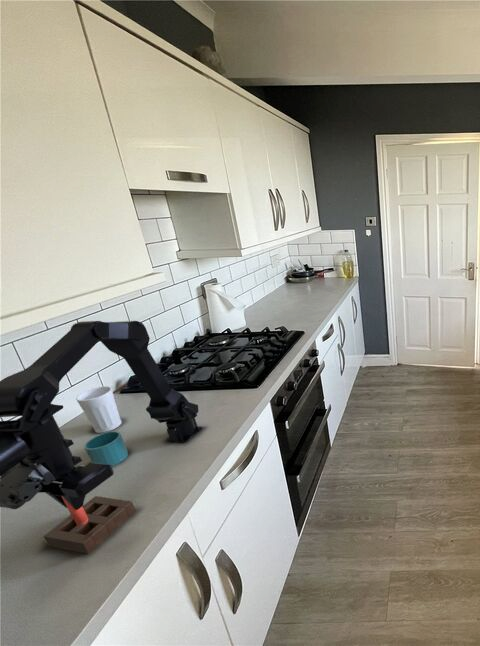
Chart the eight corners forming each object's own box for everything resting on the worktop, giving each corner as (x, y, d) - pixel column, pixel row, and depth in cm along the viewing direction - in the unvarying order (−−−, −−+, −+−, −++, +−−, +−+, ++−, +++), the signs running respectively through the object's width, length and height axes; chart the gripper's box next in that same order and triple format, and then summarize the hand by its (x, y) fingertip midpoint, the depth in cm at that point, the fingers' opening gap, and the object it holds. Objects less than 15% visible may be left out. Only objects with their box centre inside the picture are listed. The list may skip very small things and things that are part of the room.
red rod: (85, 519, 72) (65, 482, 68) (92, 520, 72) (73, 483, 68) (75, 527, 70) (54, 489, 67) (82, 528, 70) (62, 490, 66)
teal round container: (114, 448, 98) (105, 430, 96) (135, 451, 97) (127, 432, 95) (86, 467, 92) (76, 447, 89) (108, 470, 91) (99, 450, 88)
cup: (121, 415, 114) (108, 383, 109) (127, 424, 109) (114, 391, 104) (89, 427, 108) (73, 394, 103) (94, 438, 103) (78, 404, 99)
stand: (100, 505, 80) (95, 495, 79) (136, 511, 79) (131, 501, 78) (49, 546, 71) (43, 536, 70) (88, 554, 69) (82, 543, 68)
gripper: (-61, 471, 58) (-15, 537, 63) (26, 484, 55) (66, 553, 60) (23, 429, 68) (56, 489, 74) (100, 438, 65) (128, 500, 70)
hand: (75, 507), depth 69 cm, fingers closed on red rod, 2 cm apart
